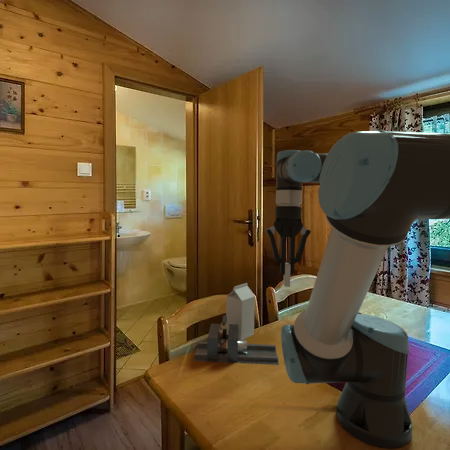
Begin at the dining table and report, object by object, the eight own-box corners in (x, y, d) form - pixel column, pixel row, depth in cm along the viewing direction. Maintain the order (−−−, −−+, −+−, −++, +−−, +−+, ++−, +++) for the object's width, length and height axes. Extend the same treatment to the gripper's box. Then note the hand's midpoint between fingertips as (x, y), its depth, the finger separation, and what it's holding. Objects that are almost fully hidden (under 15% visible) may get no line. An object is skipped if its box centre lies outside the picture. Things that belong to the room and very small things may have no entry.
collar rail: (278, 368, 92) (279, 332, 91) (193, 364, 94) (193, 329, 93) (274, 348, 104) (275, 316, 103) (199, 345, 105) (199, 314, 104)
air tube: (246, 349, 100) (247, 338, 100) (247, 355, 97) (247, 343, 96) (209, 348, 101) (209, 336, 101) (207, 354, 97) (207, 342, 97)
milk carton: (254, 337, 112) (255, 284, 111) (241, 343, 107) (242, 289, 105) (238, 331, 117) (239, 280, 115) (225, 337, 112) (226, 284, 110)
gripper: (308, 205, 96) (305, 282, 97) (264, 205, 96) (263, 282, 97) (314, 205, 88) (312, 289, 90) (267, 205, 88) (265, 288, 90)
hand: (286, 285), depth 93 cm, fingers closed
